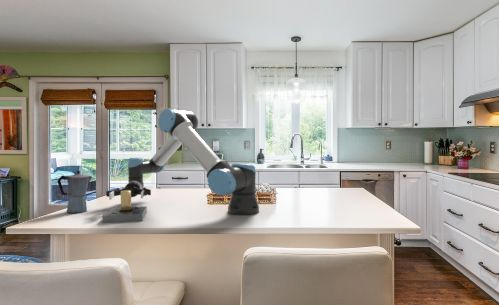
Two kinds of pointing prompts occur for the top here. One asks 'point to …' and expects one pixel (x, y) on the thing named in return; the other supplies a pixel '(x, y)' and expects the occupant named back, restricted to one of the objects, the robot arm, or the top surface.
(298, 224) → the top surface
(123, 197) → the tan peg
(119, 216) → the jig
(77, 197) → the moka pot
